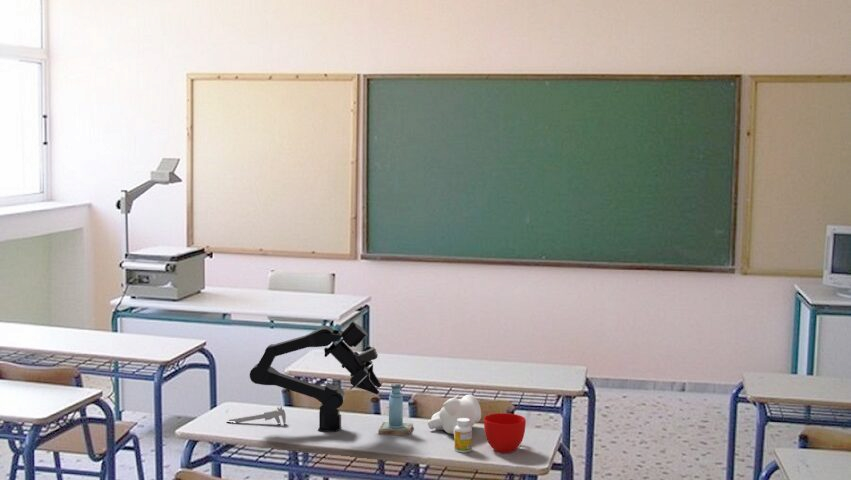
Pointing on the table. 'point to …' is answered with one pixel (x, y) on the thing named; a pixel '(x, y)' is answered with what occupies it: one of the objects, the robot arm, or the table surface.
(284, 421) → the caliper
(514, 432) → the ceramic cup
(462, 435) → the supplement bottle
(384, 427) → the picture frame
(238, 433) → the table surface
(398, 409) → the water bottle
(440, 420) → the fox head
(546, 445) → the table surface
